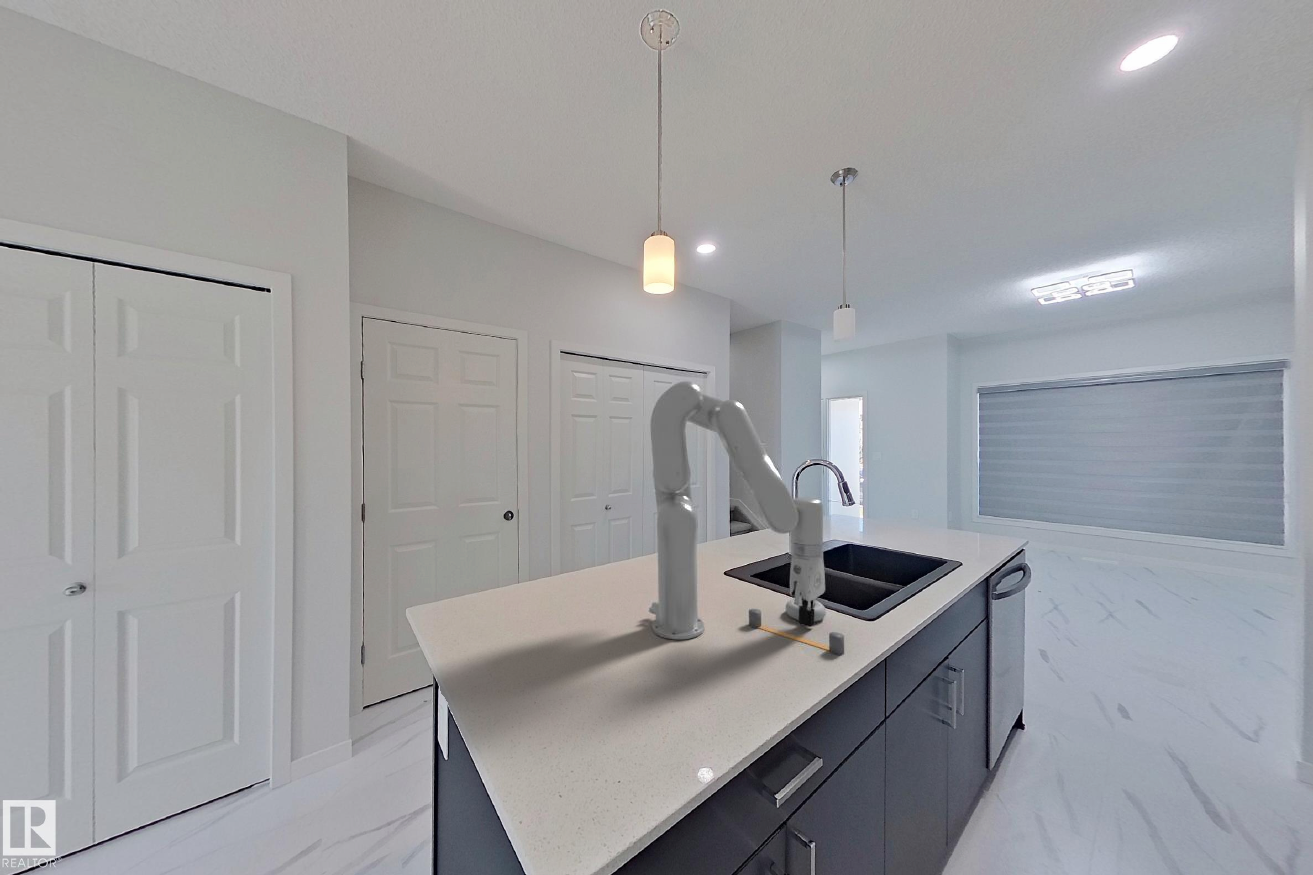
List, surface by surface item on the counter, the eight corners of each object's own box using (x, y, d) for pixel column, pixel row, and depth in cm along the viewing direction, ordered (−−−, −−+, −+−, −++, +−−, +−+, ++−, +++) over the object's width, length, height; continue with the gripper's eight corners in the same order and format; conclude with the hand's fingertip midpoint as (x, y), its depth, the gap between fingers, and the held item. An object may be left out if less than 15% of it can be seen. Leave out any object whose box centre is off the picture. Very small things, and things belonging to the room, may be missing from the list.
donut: (824, 627, 109) (827, 611, 118) (824, 613, 108) (827, 598, 117) (782, 620, 113) (788, 605, 122) (782, 606, 113) (788, 593, 122)
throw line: (746, 625, 110) (746, 611, 110) (752, 621, 112) (752, 607, 112) (841, 656, 94) (840, 639, 94) (846, 651, 96) (846, 634, 96)
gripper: (807, 558, 100) (807, 639, 100) (834, 546, 111) (834, 619, 111) (777, 552, 106) (777, 629, 106) (805, 541, 116) (805, 611, 116)
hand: (806, 624), depth 108 cm, fingers closed
